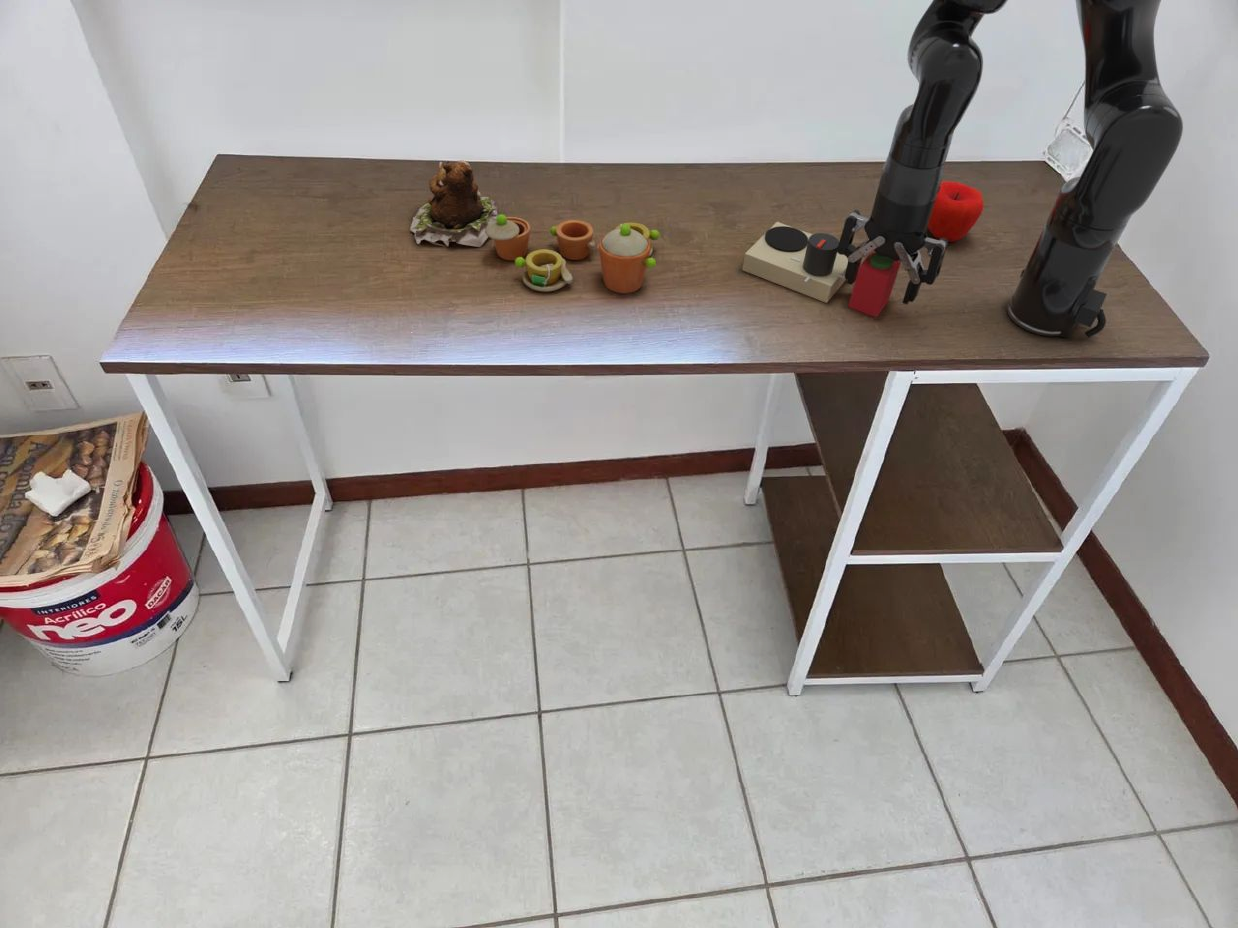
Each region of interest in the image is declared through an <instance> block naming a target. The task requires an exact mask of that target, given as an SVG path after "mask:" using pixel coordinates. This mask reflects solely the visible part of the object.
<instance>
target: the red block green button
mask: <svg viewBox="0 0 1238 928" xmlns="http://www.w3.org/2000/svg"><path fill="white" fill-rule="evenodd" d="M876 254H877V253H876V252H875V251H874V250H873V251H871V252H870V253H868V254H867V256H866V258H865V259H864V260H863V262H861V264H860V267H859V270H858V274H857V277H856V280H855V282H854V283H853V284H854V285H853V288H852V292H851V295H850V298H849V302H848V305H847V306H848V308H851V309H853V310H856V311H859V312H861V313H863V314H866V315H869V316H871V317H873V318H878V316H879V315H880V313H881V312H882V311H883V309H884V308H885V306H886V305H887V303H889V300H890V298H891V295H892V292H893V289H894V285H895V282H896V279H897V276H898V273H899V269H900V266H901V264H902V262H901V260H898V262H897V261H894V260H892V259H890V258H888V257H883V256H879V255H876Z"/></svg>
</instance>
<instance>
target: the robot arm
mask: <svg viewBox="0 0 1238 928" xmlns="http://www.w3.org/2000/svg"><path fill="white" fill-rule="evenodd" d="M1008 1H1009V0H932V1H931V3H930V4H929V6H928V7H927V8H926V10H925V12H924V13H923V15H922V17H921V18H920V20H919V21H918V23H917V24H916V26H915V29H914V31H913V33H912V35H911V38H910V40H909V44H908V49H907V53H906V54H907V59H906V60H907V65H908V68H909V70H910V72H911V74H912V75H913V77H914V78H915V79H916V81H917V82H918V88H917V93H916V97H915V99H914V102H913V103H912V104H910V105H908V106H907V107H905V108H904V109H903V110H902V111H901V113H900V114H899V116H898V119H897V121H896V124H895V129H894V132H893V136H892V139H891V144H890V148H889V151H888V155H887V156H886V159H885V162H884V164H883V167H882V171H881V175H880V178H879V182H878V187H877V190H876V194H875V198H874V202H873V206H872V211H871V215H870V217H866V216H863V215H861V211H860V210H857V209H854V210H853V211H852V212H851V213H850V214H849V215H848V216H847V217H846V219H845V221H844V225H843V227H842V232H841V235H840V239H839V245H838V249H837V252H838V253H839V254H840V255H845V256H846V257H847V258H848V264H847V268H846V272H845V279H846V284H848V285H851V286H853V284H855V281H856V277H857V274H858V270H859V267H860V265H861V264H862V260H863V258H864V257H867V256H868V255H869V254H870V253H871V252H872V251H875V252H876V253H877V254H876V255H879V256H883V257H888V258H890V259H892V260H894V261H897V262H898V260H901V264H902V266H903V270H904V271H905V272H906V273H907V275H908V277H909V279H910V280H909V281H908V283H907V287H906V289H905V293H904V296H903V298H902V304H904V305H908V304H909V303H913V302H914V301H915V299H916V298H917V296H919V292H920V289H921V285H922V284H926V285H933V284H934V283H935V281H936V280H937V278H938V277H939V275H940V272H941V269H942V266H943V262H944V258H945V254H946V251H947V247H948V244H949V241H947V239H945V238H941V239H940V240H939V239H935V238H931V237H928V234H927V230H928V222H929V219H930V216H931V213H932V209H933V206H934V203H935V200H936V197H937V194H938V193H939V190H940V186H941V185H940V184H941V182H942V181H943V177H944V170H945V164H946V161H947V158H948V154H949V151H950V148H951V144H952V141H953V137H954V133H955V130H956V128H958V127H957V126H958V125H959V124H960V123H961V120H962V119H963V117H964V116H965V114H966V112H967V110H968V108H969V106H970V105H971V103H972V102H973V100H974V98H975V95H976V94H977V91H978V89H979V86H980V84H981V80H982V76H983V69H984V57H983V52H982V50H981V48H980V46H979V45H978V44H977V42H975V40H974V39H973V38H972V37H973V34H974V32H975V30H976V29H977V27H978V25H980V23H981V21H982V19H983V18H984V17H985V15H993V14H995V13H998V12H1000V10H1002V9H1003V8H1004V7H1005V5H1007V2H1008ZM1074 1H1075V9H1076V14H1077V21H1078V26H1079V30H1080V35H1081V36H1080V37H1081V40H1082V44H1083V51H1084V97H1083V129H1084V134H1085V138H1086V140H1087V142H1088V144H1089V146H1090V147H1091V149H1092V153H1091V155H1090V156H1089V158H1088V161H1087V163H1086V165H1085V166H1084V169H1083V171H1082V172H1081V174H1080V176H1075V177H1073V178H1070V179H1068V180H1067V181H1066V182H1065V183H1064V184H1063V185H1062V187H1061V188H1060V190H1059V193H1058V195H1057V198H1056V199H1055V202H1054V204H1053V206H1052V209H1051V210H1050V213H1049V215H1048V218H1047V220H1046V222H1045V224H1044V227H1043V228H1042V231H1041V233H1040V235H1039V237H1038V239H1037V241H1036V244H1035V246H1034V249H1033V250H1032V253H1031V254H1030V256H1029V257H1030V258H1029V259H1028V262H1027V264H1026V266H1025V268H1024V269H1022V271H1021V273H1020V276H1019V278H1020V279H1019V282H1018V284H1017V286H1016V288H1015V291H1014V292H1013V294H1012V297H1011V299H1010V300H1009V302H1008V305H1007V307H1006V308H1007V309H1006V311H1007V314H1008V316H1009V318H1010V319H1011V320H1012V321H1013V322H1014V323H1015V324H1016V326H1019V327H1020V328H1022V329H1023V330H1026V331H1028V332H1030V333H1032V334H1036V335H1039V336H1044V337H1061V338H1064V339H1069V337H1070V335H1071V333H1072V330H1074V328H1075V325H1076V323H1077V324H1080V325H1083V326H1085V327H1089V329H1088V330H1086V331H1085V332H1084V335H1085V337H1087V338H1088V339H1089V338H1091V337H1093V336H1095V335H1097V334H1099V333H1100V332H1101V331H1102V330H1103V329H1104V328H1105V326H1106V323H1107V317H1106V314H1105V312H1104V309H1102V306H1103V304H1104V303H1105V300H1106V298H1107V296H1108V293H1105V292H1102V291H1100V290H1097V289H1095V287H1096V285H1097V283H1098V281H1099V279H1100V277H1101V275H1102V273H1103V271H1104V269H1105V267H1106V266H1107V263H1108V261H1109V260H1110V257H1111V256H1112V253H1113V251H1114V250H1115V247H1116V246H1117V244H1118V242H1119V240H1120V238H1121V237H1122V235H1123V232H1124V231H1125V229H1126V227H1127V225H1128V223H1129V221H1130V220H1131V218H1132V216H1133V215H1134V214H1135V213H1137V212H1138V211H1139V210H1140V209H1141V208H1142V207H1143V206H1144V204H1145V203H1146V202H1147V201H1148V200H1149V198H1150V197H1151V195H1152V193H1154V190H1155V189H1156V187H1157V185H1158V183H1159V182H1160V180H1161V178H1162V176H1163V175H1164V173H1165V171H1166V170H1167V168H1168V167H1169V165H1170V163H1171V161H1172V159H1173V158H1174V156H1175V154H1176V153H1177V149H1178V147H1179V145H1180V142H1181V140H1182V136H1183V132H1184V131H1183V130H1184V122H1183V119H1182V116H1181V114H1180V112H1179V111H1178V109H1177V108H1176V106H1175V105H1174V103H1173V102H1172V101H1171V99H1170V97H1168V95H1167V94H1166V92H1165V90H1164V89H1163V86H1162V84H1161V80H1160V75H1159V71H1158V64H1157V57H1156V48H1155V26H1156V18H1157V15H1158V11H1159V9H1160V5H1161V1H1162V0H1074ZM861 228H863V229H864V232H865V234H866V236H867V239H865V241H863V242H862V243H861V244H858V245H857V246H855V245H854V244H853V241H854V238H855V234H856V233H857V232H859V231H860V230H861ZM924 247H925V248H926V253H927V256H928V257H930V259H929V263H928V266H927V269H925V266H924V264H923V262H922V254H921V252H920V250H921V249H922V248H924ZM1096 318H1097V323H1096V325H1095V326H1094V327H1092V326H1093V325H1094V322H1095V321H1096Z"/></svg>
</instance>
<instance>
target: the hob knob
mask: <svg viewBox="0 0 1238 928" xmlns="http://www.w3.org/2000/svg"><path fill="white" fill-rule="evenodd" d="M812 234H813V235H811V236H810V237H809V240H808V244H807V249H806V253H805V257H804V262H803V269H804V270H805V271H806V272H807V273H809V274H811V275H814V276H827V275H829V274H831V273H832V271H833V267H834V263H835V259H836V255H837V249H838V245H839V242H840V240H839V239H838V238H837V237H836V236H835V235H832V234H830V233H826V232H825V233H824V232H816V233H812Z"/></svg>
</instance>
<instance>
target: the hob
mask: <svg viewBox="0 0 1238 928" xmlns="http://www.w3.org/2000/svg"><path fill="white" fill-rule="evenodd" d="M779 226H786V227H792V228H794V227H793V226H791V225H788V224H784V223H782V222H779V221H776V222H775V223H774V224H773V225H772V226H771V227H770V228H769V229H771V228H774V227H779ZM797 229H798V230H800V231H802V232H803V233H804V234H806V236H807V237H808V240H809V237H810V236H811V235H813V234H814V233H810V232H807V231H804V230H801V229H799V228H797ZM765 234H766V232H765V233H764V234H763V235H762V236H761V237H760V238H759V239H757V241H756V242H755V243H754V244H753V245H752V246H751V247H750V248H749V249H748V250H747V251H745V253H744V257H743V262H742V263H743V264H742V270H741V271H743V272H746V273H748V274H751V275H754V276H755V277H759V278H761V279H763V280H767V281H769V282H772V283H775V284H776V285H780V286H782V287H784V288H787V289H789V290H792V291H795V292H798V293H800V294H803V295H805V296H807V297H810V298H813V299H815V300H818V301H821V302H823V303H826V304H828V302H829V301H830V300H831V299H832V298H833V296H834V295H835V294H836V293H837V292H838V290H839V289H840V288H841V286H842V285H843V284H844V283H845V282H846V281H847V279H845V272H846V268H847V264H848V258H847V257H846V256H845V255H840V254H839V253H838V252H837V255H836V259H835V263H834V267H833V271H832V273H831V274H829V275H827V276H814V275H811V274H809V273H807V272H806V271H805V270H804V269H803V262H804V257H805V253H806V249H807V247H806V248H805V249H803V250H801V251H798V252H783V251H779V250H776V249H774V248H772V247H770V246H769V245H768V244H767V243H766V241H765Z"/></svg>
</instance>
